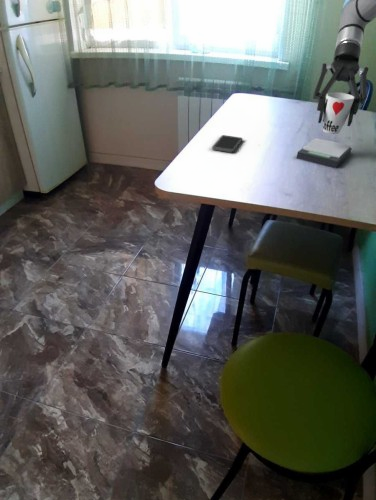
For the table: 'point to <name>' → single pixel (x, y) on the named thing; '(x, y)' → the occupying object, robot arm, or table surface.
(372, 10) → the robot arm
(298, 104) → the table surface
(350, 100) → the cup
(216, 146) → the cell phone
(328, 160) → the scale
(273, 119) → the table surface
